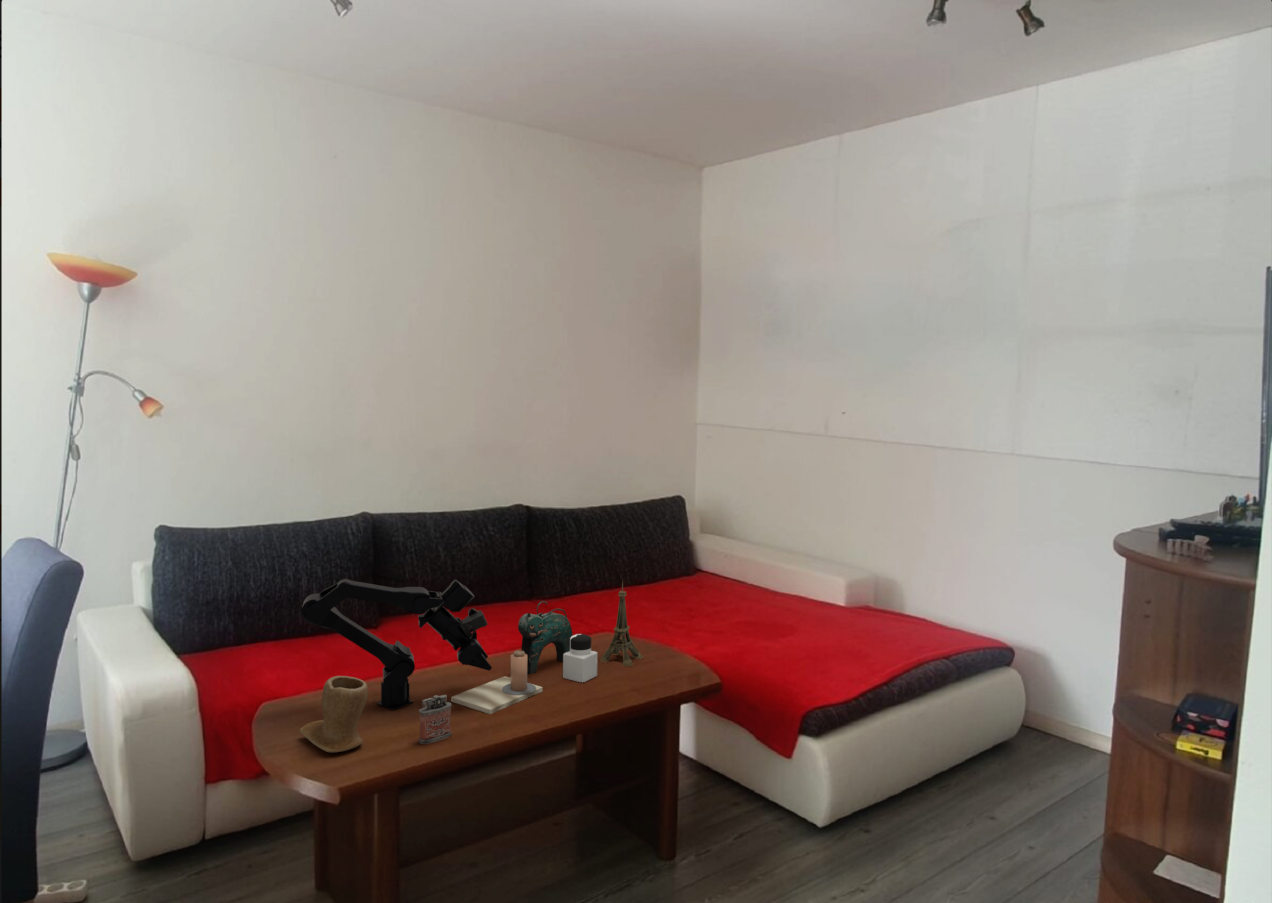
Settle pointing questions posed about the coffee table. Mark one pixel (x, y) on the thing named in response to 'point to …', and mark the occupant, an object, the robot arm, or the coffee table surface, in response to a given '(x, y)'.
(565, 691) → the coffee table surface
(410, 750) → the coffee table surface
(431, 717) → the lighter
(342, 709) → the stone cup
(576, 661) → the medicine bottle
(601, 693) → the coffee table surface
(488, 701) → the serving board
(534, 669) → the ceramic cat
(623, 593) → the eiffel tower
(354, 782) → the coffee table surface
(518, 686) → the pink cylindrical bottle
